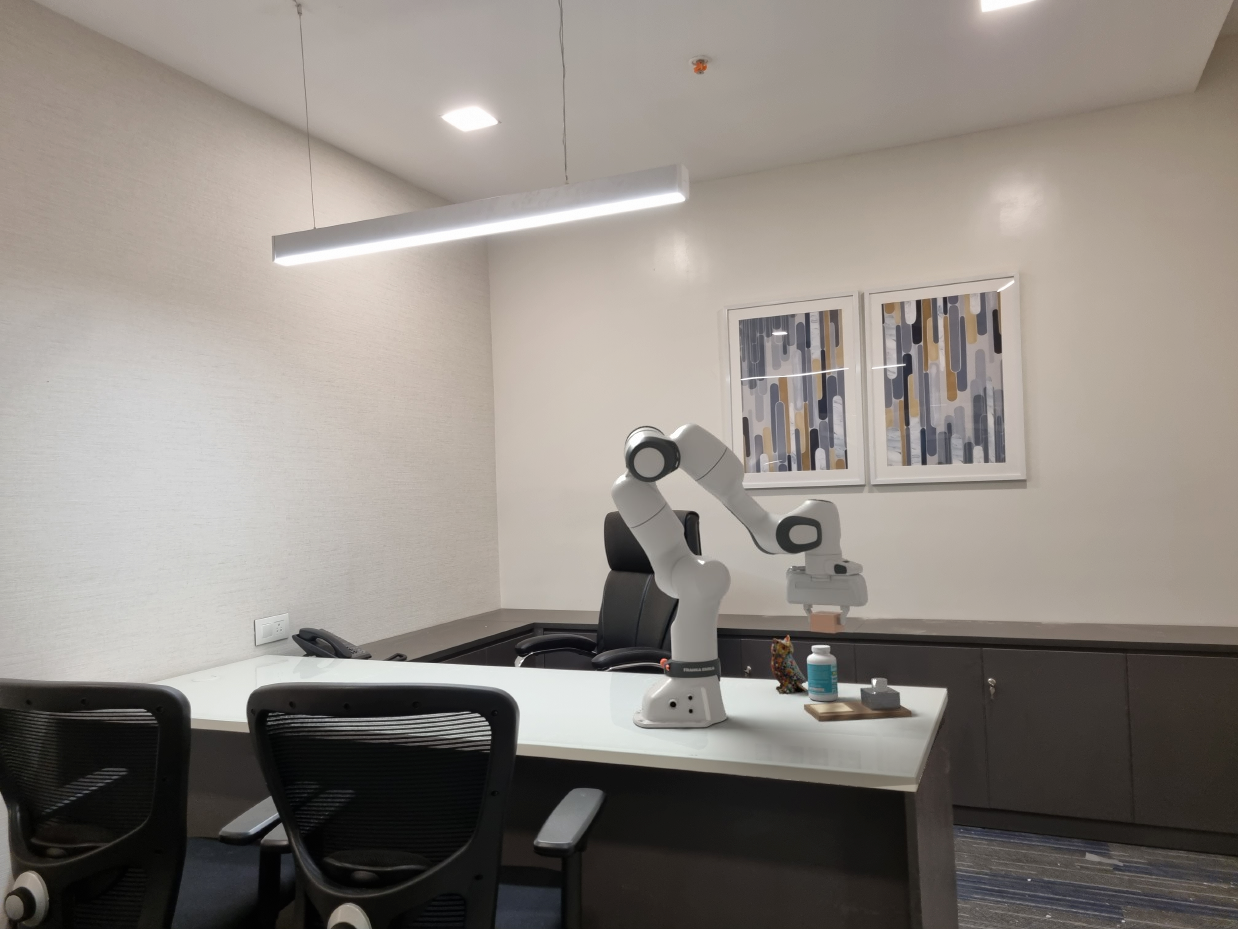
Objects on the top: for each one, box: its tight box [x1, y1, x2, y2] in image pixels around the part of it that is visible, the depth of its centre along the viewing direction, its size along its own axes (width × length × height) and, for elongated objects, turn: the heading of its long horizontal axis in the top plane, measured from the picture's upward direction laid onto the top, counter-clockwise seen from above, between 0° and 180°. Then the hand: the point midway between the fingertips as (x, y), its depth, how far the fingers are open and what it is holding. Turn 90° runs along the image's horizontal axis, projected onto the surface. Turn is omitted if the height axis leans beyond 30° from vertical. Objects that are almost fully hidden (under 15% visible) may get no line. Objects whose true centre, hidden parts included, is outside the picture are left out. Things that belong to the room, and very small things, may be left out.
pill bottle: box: [806, 644, 839, 702], centre depth 215 cm, size 8×7×14 cm
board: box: [803, 700, 912, 722], centre depth 199 cm, size 22×12×2 cm, turn 94°
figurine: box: [770, 634, 808, 695], centre depth 226 cm, size 9×9×15 cm
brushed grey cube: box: [859, 677, 901, 710], centre depth 200 cm, size 7×7×6 cm
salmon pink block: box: [809, 610, 845, 634], centre depth 200 cm, size 6×6×4 cm
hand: (827, 624), depth 200 cm, fingers closed on salmon pink block, 6 cm apart
